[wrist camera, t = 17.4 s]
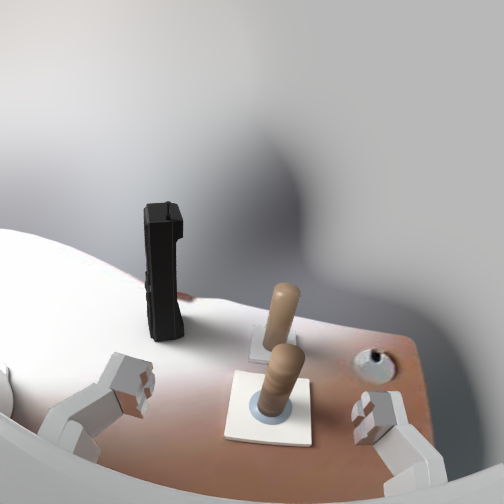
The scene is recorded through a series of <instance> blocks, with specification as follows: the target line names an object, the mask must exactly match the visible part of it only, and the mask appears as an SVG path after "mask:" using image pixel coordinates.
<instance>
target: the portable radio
mask: <svg viewBox="0 0 504 504" xmlns="http://www.w3.org/2000/svg"><path fill="white" fill-rule="evenodd" d="M144 231H145V254H146V267H147V271H146V272H145V273H146V281H145V288H146V291H147V292H146V300H147V317H148V325H149V331H150V337H151V338H153V339H154V341H165V340H173V339H177V338H180V337H182V336H184V324H183V320H182V316H181V313H180V309H179V305H178V302H177V282H176V281H177V280H176V242H177V241H178V239H180V238H183V219H182V216H181V213H180V210H179V207H178V205H177V204H175V203H171V202H169V201H167V202H165V203H152V204H147V205H146V207H145V208H144Z"/></svg>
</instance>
